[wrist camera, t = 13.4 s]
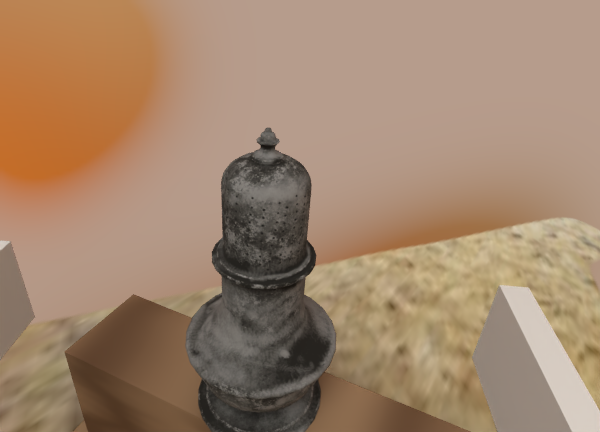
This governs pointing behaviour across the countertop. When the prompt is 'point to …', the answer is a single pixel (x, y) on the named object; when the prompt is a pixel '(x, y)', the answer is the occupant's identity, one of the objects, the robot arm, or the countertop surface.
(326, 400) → the ridge
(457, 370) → the countertop surface
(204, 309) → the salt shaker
